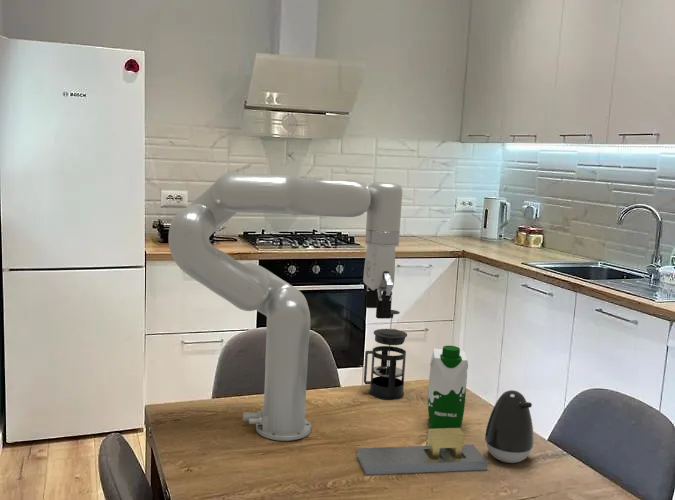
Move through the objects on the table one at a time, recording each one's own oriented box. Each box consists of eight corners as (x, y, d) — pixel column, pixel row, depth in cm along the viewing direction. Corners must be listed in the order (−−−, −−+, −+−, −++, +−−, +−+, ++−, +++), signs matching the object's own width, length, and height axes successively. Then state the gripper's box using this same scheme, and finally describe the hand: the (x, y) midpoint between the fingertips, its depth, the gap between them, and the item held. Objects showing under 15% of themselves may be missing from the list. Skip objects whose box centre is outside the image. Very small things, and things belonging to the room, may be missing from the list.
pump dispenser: (505, 472, 140) (512, 402, 138) (473, 451, 149) (479, 385, 147) (542, 464, 145) (549, 396, 143) (509, 444, 154) (515, 380, 152)
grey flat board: (365, 475, 136) (366, 465, 135) (357, 457, 143) (357, 448, 143) (486, 469, 141) (487, 460, 140) (472, 452, 149) (472, 444, 148)
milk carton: (426, 431, 159) (432, 349, 156) (425, 416, 168) (431, 338, 165) (464, 434, 158) (471, 352, 155) (461, 419, 167) (467, 341, 164)
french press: (400, 387, 188) (406, 306, 185) (410, 399, 179) (416, 315, 176) (359, 387, 186) (364, 306, 183) (367, 400, 177) (372, 314, 173)
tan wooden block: (430, 466, 141) (433, 434, 140) (425, 459, 144) (428, 428, 143) (462, 465, 142) (464, 433, 141) (456, 458, 145) (459, 427, 144)
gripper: (357, 232, 158) (353, 303, 161) (375, 243, 142) (370, 322, 144) (388, 233, 160) (383, 304, 162) (409, 244, 143) (404, 322, 145)
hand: (377, 312), depth 153 cm, fingers open, 9 cm apart
